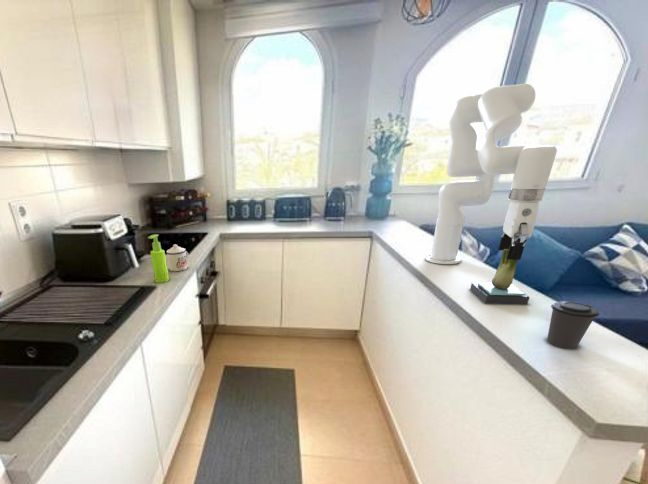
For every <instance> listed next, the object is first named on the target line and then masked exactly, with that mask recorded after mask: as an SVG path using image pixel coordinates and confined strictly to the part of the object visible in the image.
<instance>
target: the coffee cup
mask: <svg viewBox="0 0 648 484" xmlns="http://www.w3.org/2000/svg"><path fill="white" fill-rule="evenodd" d="M550 307H551V309H552V310H551V316H550V322H549V328H548V333H547V338H546V342H547V343H548V344H550V345H552V346H554V347H557V348H561V349H565V350H566V349H568V350H573V349H577V347H578V346H579V344H580V342H581V341H582V339H583V338H584V336H585V335H586V333H587V331H588V329H589V328H590V326H591V324H592V323H593V321H594V319H595V318H596V317H598V316H600V312H599V310H598V309H597V308H596V307H593V306H591V305H589V304H584V303H581V302H576V301H555V302H554V303H552V304H551V305H550Z"/></svg>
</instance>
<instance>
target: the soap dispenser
mask: <svg viewBox="0 0 648 484" xmlns="http://www.w3.org/2000/svg"><path fill="white" fill-rule="evenodd" d="M159 235H160V234H151V235H149V236H147V239H148V240H152V239H153V242H152V243H151V247H152V250H150V259H151V264H152V269H153V274H154V282H155V283H159V284H161V283H166V282H168V281H169V280H170V277H169V272H168V271H169V269H168V264H167V259H166V253H165V250H164V249H162V246H161V242H160V241H159V240H158V237H159Z"/></svg>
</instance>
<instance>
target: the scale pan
mask: <svg viewBox="0 0 648 484" xmlns="http://www.w3.org/2000/svg"><path fill="white" fill-rule="evenodd" d="M477 283H478V285H479V286H480V287H482V288H483V289H484V290H485V291H486V292H487V293H489V294H490V295H521V296H525V295H527V293H525V292H524V291H523V290H521V289H519V288H518V287H517V286H515V285H514V284H513V283H512V284H511V286H510V287H509V288H508V289H499V288H496V287H494V286H493V285H492V283H481V282H477Z"/></svg>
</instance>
